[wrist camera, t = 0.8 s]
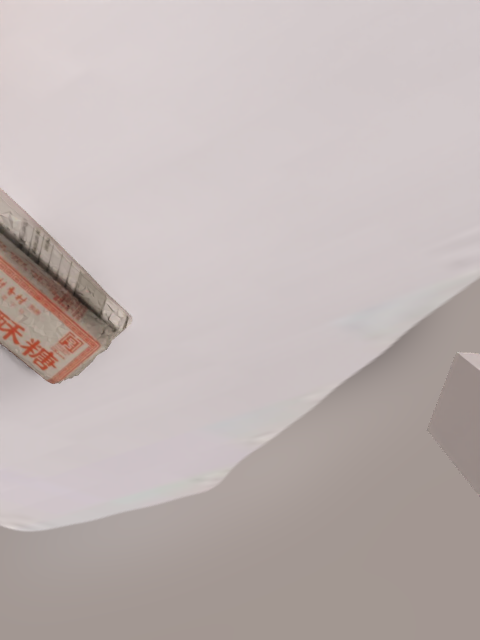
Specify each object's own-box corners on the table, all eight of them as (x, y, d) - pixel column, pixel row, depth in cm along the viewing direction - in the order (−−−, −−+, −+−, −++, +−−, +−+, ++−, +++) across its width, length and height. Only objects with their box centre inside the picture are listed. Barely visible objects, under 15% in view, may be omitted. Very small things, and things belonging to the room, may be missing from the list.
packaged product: (128, 338, 31) (45, 407, 33) (137, 316, 36) (64, 378, 38) (-75, 151, 25) (-163, 249, 27) (-33, 151, 30) (-111, 236, 31)
